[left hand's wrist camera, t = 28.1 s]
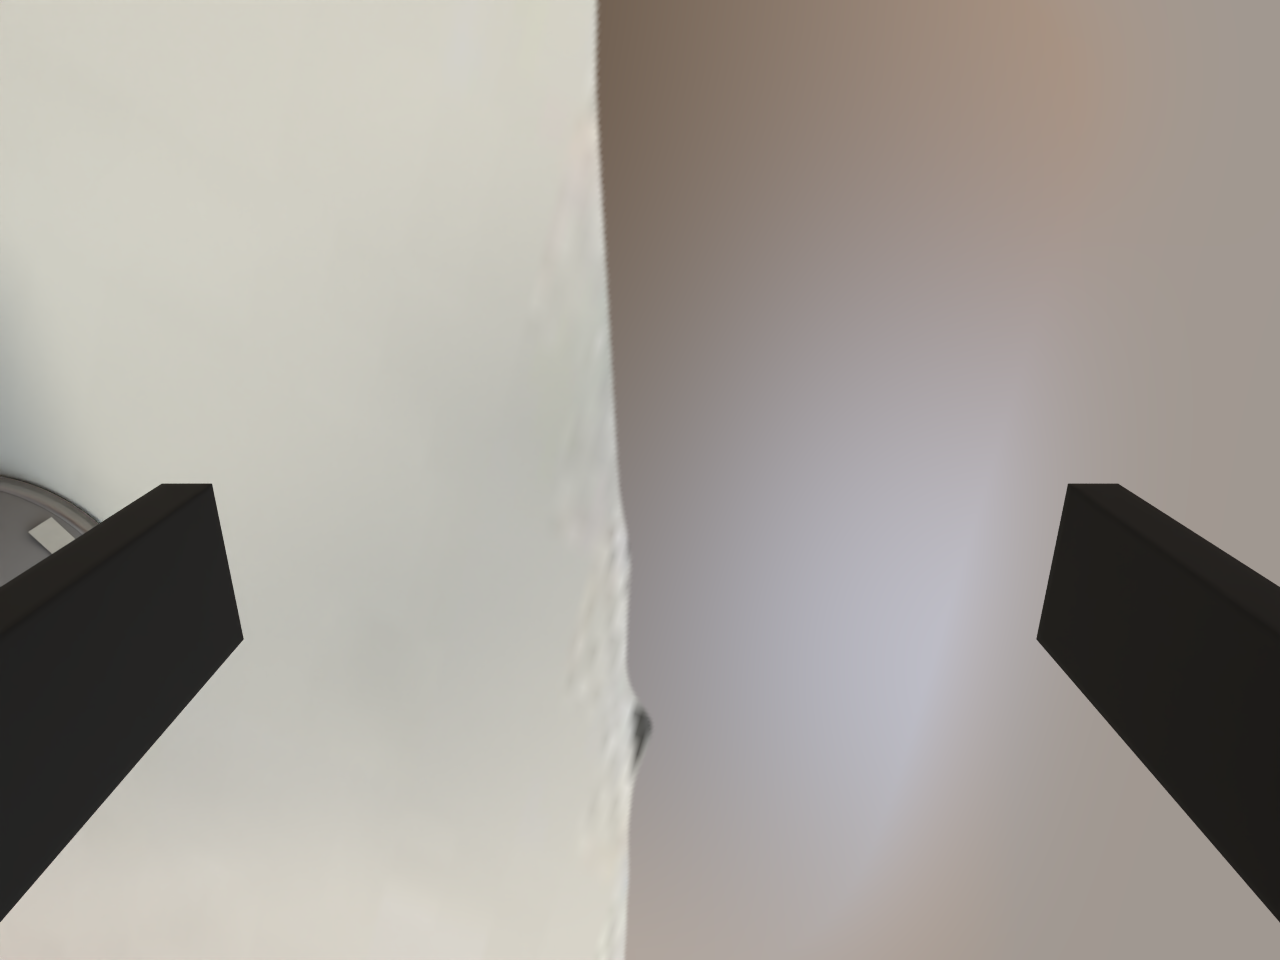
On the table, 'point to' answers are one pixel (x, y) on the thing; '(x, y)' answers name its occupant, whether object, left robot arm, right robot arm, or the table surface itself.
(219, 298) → the table surface
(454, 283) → the table surface
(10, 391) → the table surface
